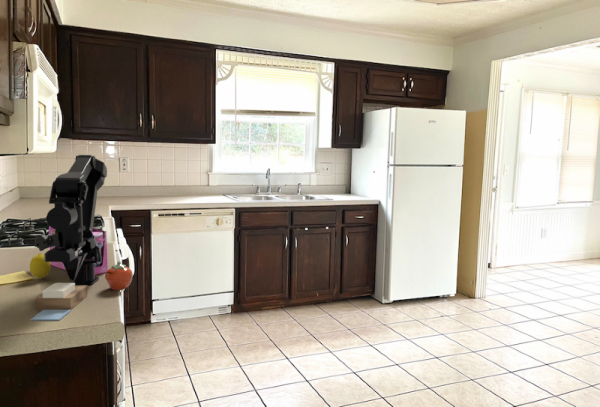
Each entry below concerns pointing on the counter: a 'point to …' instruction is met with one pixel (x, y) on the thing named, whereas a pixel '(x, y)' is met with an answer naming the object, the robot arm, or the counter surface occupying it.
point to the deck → (62, 300)
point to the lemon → (39, 266)
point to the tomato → (119, 276)
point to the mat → (50, 315)
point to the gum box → (100, 266)
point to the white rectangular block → (58, 290)
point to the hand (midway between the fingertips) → (72, 280)
